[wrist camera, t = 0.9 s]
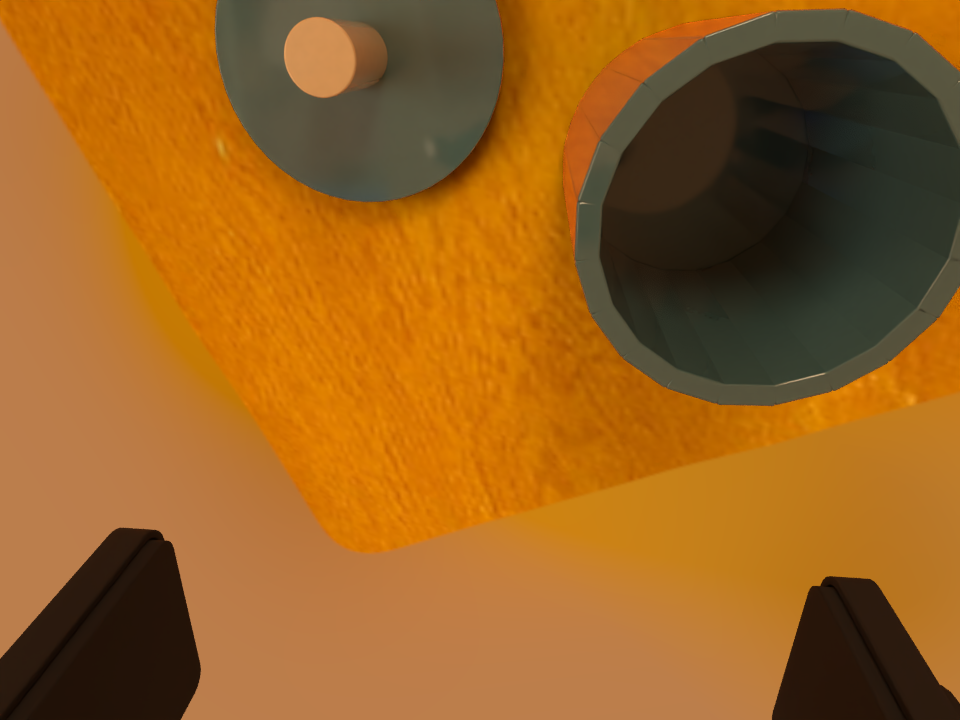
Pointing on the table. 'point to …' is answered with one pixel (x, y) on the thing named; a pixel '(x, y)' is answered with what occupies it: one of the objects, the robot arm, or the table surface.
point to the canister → (767, 201)
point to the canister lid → (362, 87)
